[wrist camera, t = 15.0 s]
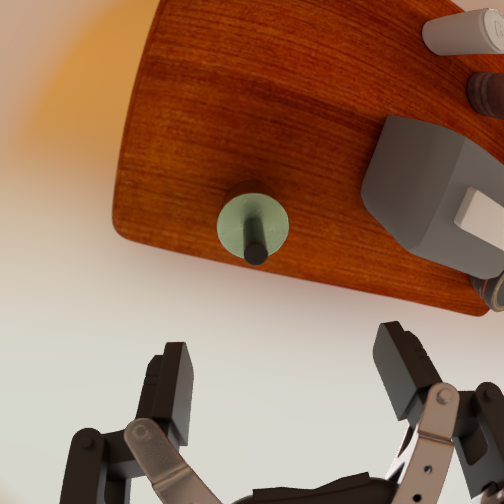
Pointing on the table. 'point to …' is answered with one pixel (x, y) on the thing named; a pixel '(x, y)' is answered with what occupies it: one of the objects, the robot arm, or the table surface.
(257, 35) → the table surface
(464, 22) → the beverage can
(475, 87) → the can
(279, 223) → the lid
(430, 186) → the alarm clock
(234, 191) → the pot
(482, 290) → the jar
